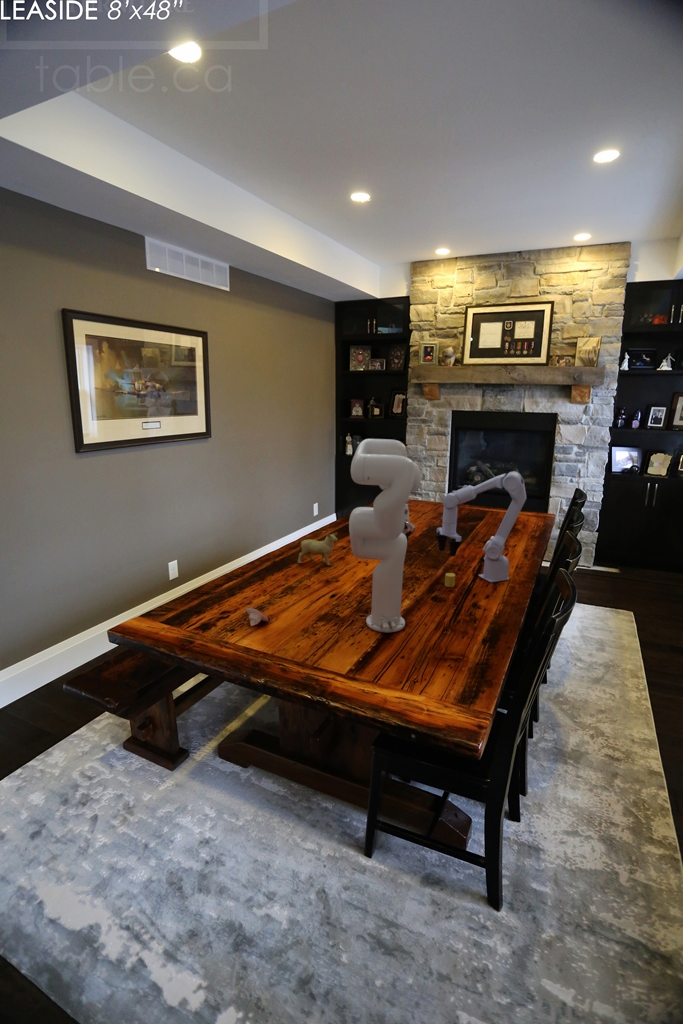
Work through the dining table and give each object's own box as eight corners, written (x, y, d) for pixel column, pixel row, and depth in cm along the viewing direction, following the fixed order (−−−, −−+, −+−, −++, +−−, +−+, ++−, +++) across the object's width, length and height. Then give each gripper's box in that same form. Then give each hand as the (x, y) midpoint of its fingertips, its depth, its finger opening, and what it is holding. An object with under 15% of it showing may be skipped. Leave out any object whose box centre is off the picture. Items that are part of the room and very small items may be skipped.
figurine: (481, 562, 222) (483, 536, 219) (482, 556, 230) (484, 531, 227) (499, 564, 220) (501, 538, 217) (499, 558, 228) (501, 533, 225)
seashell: (251, 634, 162) (235, 615, 161) (262, 623, 165) (246, 604, 164) (262, 630, 156) (245, 610, 155) (273, 618, 159) (257, 599, 158)
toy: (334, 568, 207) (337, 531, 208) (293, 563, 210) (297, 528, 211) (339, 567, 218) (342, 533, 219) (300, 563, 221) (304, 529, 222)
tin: (442, 585, 196) (443, 574, 195) (448, 582, 198) (449, 572, 197) (450, 588, 193) (451, 577, 192) (456, 585, 196) (457, 574, 195)
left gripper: (421, 501, 179) (418, 546, 184) (381, 494, 190) (379, 537, 194) (410, 505, 174) (408, 552, 178) (369, 497, 184) (368, 541, 188)
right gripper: (431, 518, 211) (429, 549, 215) (452, 527, 199) (449, 559, 202) (445, 517, 214) (443, 547, 217) (466, 525, 201) (463, 557, 205)
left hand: (393, 544), depth 186 cm, fingers open, 9 cm apart
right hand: (447, 553), depth 210 cm, fingers open, 7 cm apart
